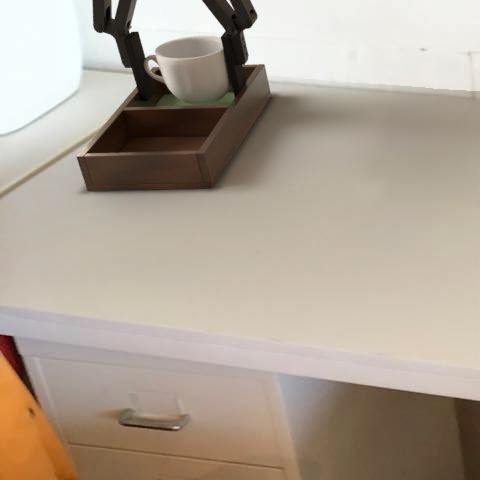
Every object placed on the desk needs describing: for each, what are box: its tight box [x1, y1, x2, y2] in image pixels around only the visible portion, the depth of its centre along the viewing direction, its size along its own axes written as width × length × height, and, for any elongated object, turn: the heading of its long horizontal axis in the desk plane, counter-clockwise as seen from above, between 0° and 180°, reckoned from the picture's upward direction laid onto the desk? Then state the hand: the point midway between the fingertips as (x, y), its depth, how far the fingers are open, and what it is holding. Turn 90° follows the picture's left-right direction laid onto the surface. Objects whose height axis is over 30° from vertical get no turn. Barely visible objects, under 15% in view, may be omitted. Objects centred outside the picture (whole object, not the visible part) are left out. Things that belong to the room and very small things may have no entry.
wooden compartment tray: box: [76, 63, 272, 192], centre depth 141 cm, size 13×25×4 cm, turn 178°
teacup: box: [144, 35, 232, 104], centre depth 143 cm, size 10×8×5 cm
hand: (194, 95), depth 145 cm, fingers closed on teacup, 10 cm apart
